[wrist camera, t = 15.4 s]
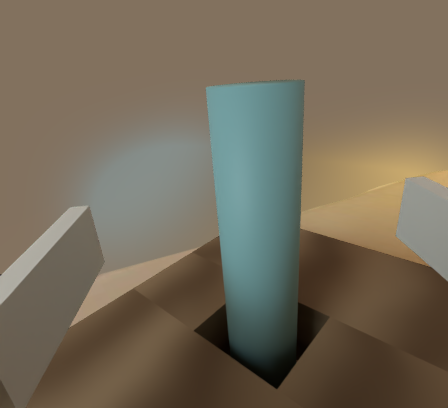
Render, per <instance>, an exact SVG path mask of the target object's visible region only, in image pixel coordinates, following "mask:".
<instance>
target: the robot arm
mask: <svg viewBox="0 0 448 408" xmlns="http://www.w3.org/2000/svg"><path fill="white" fill-rule="evenodd" d="M396 237H397V238H399V239H400V240H401V241H402V242H403V243H404V244H406V245H407V246H408V247H409V248H410V249H411V250H412V251H414V252H415V253H416V254H417V255H418V256H419V257H420V258H422V259H423V260H424V261H425V262H426V263H427V264H428V265H430V266H431V267H432V268H433V269H434V270H435V271H436V272H438V273H439V274H440V275H441V276H442V277H443V278H445V279H446V280H447V281H448V188H447V187H445V186H442V185H440V184H438V183H436V182H434V181H432V180H430V179H428V178H426V177H413V178H406V180H405V185H404V191H403V197H402V203H401V208H400V214H399V220H398V226H397V231H396ZM104 262H105V261H104V258H103V254H102V250H101V247H100V243H99V240H98V236H97V232H96V229H95V225H94V222H93V218H92V214H91V211H90V207H89V206H80V207H70V208H69V209H68V210H67V211H66V212H65V213H64V214H63V215H62V216H61V217H60V218H59V219H58V220H57V221H56V222H55V223H54V224H53V225H52V226H51V227H50V228H49V229H48V230H47V231H46V232H45V233H44V234H43V235H42V236H41V237H40V238H39V239H38V240H37V241H36V242H34V244H32V245H31V246H30V247H29V248H28V249H27V250H26V251H25V252H24V253H23V254H22V255H21V256H20V257H19V258H18V259H17V260H16V261H15V262H14V263H13V264H12V265H11V266H10V267H9V268H8V269H7V270H6V271H5V272H4V273H3V274H0V408H26V406H27V404H28V402H29V400H30V398H31V397H32V395H33V393H34V391H35V389H36V387H37V386H38V384H39V382H40V380H41V378H42V376H43V374H44V373H45V371H46V369H47V367H48V365H49V363H50V362H51V360H52V358H53V356H54V354H55V352H56V351H57V349H58V347H59V345H60V343H61V341H62V340H63V338H64V336H65V334H66V332H67V330H68V329H69V327H70V325H71V323H72V321H73V319H74V318H75V316H76V314H77V312H78V310H79V308H80V307H81V305H82V303H83V301H84V299H85V297H86V295H87V294H88V292H89V290H90V288H91V286H92V284H93V283H94V281H95V279H96V277H97V275H98V273H99V272H100V270H101V268H102V266H103V264H104Z"/></svg>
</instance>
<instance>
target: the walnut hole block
mask: <svg viewBox="0 0 448 408" xmlns="http://www.w3.org/2000/svg"><path fill="white" fill-rule="evenodd" d="M296 360H298V362H297V363H296V364H295V366H294V367H293V368H292V370H291V371H290V373H289V374H288V375H287V377H286V378H285V379H284V381H283V382H282V383H281V385H280V386H279V388H278V389H276V388H274V387H273V386H271V385H270V384H268V383H267V382H266V381H264V380H263V379H261V378H260V377H259V376H257V375H256V374H254V373H253V372H251V371H250V370H249V369H247V368H246V367H244V366H243V365H241V364H240V363H239V362H237V361H236V360H234V359H233V358H232V357H230V346H229V335H228V324H227V313H226V302H225V291H224V280H223V269H222V258H221V247H220V237H219V236H218V237H216V238H215V239H213V240H211V241H210V242H208V243H207V244H205V245H203V246H202V247H200V248H198V249H197V250H195V251H194V252H192V253H190V254H189V255H187V256H185V257H184V258H182V259H181V260H179V261H177V262H176V263H174V264H172V265H171V266H169V267H168V268H166V269H164V270H163V271H161V272H159V273H158V274H156V275H155V276H153V277H151V278H150V279H148V280H146V281H145V282H143V283H142V284H140V285H138V286H137V287H135V288H133V289H132V290H130V291H129V292H127V293H125V294H124V295H122V296H120V297H119V298H117V299H115V300H114V301H112V302H111V303H109V304H107V305H106V306H104V307H102V308H101V309H99V310H98V311H96V312H94V313H93V314H91V315H89V316H88V317H86V318H85V319H83V320H81V321H80V322H78V323H76V324H75V325H73V326H72V327H70V328H69V329H68V330H67V332H66V334H65V336H64V338H63V340H62V341H61V343H60V345H59V347H58V349H57V351H56V352H55V354H54V356H53V358H52V360H51V362H50V363H49V365H48V367H47V369H46V371H45V373H44V374H43V376H42V378H41V380H40V382H39V384H38V386H37V387H36V389H35V391H34V393H33V395H32V397H31V398H30V400H29V402H28V404H27V406H26V408H448V281H447V280H446V279H445V278H443V277H442V276H441V275H440V274H439V273H438V272H436V271H435V270H434V269H433V268H432V267H428V266H425V265H421V264H418V263H415V262H411V261H408V260H405V259H401V258H398V257H394V256H391V255H388V254H384V253H381V252H378V251H374V250H371V249H367V248H364V247H361V246H357V245H354V244H351V243H347V242H344V241H340V240H337V239H334V238H330V237H327V236H323V235H320V234H317V233H313V232H310V231H307V230H303V229H300V248H299V281H298V314H297V347H296Z"/></svg>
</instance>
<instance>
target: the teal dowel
mask: <svg viewBox="0 0 448 408" xmlns="http://www.w3.org/2000/svg"><path fill="white" fill-rule="evenodd" d="M304 83H305V82H304V80H276V81H259V82H246V83H235V84H226V85H218V86H211V87H206V94H207V106H208V117H209V127H210V138H211V149H212V159H213V171H214V182H215V192H216V203H217V214H218V226H219V237H220V247H221V258H222V269H223V280H224V291H225V302H226V313H227V324H228V335H229V346H230V357H232V358H233V359H234V360H236V361H237V362H239V363H240V364H241V365H243V366H244V367H246V368H247V369H249V370H250V371H251V372H253V373H254V374H256V375H257V376H259V377H260V378H261V379H263V380H264V381H266V382H267V383H268V384H270V385H271V386H273V387H274V388H276V389H278V388H279V386H280V385H281V383H282V382H283V381H284V379H285V378H286V377H287V375H288V374H289V373H290V371H291V370H292V368H293V367H294V366H295V364H296V347H297V314H298V281H299V248H300V215H301V182H302V149H303V116H304Z"/></svg>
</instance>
